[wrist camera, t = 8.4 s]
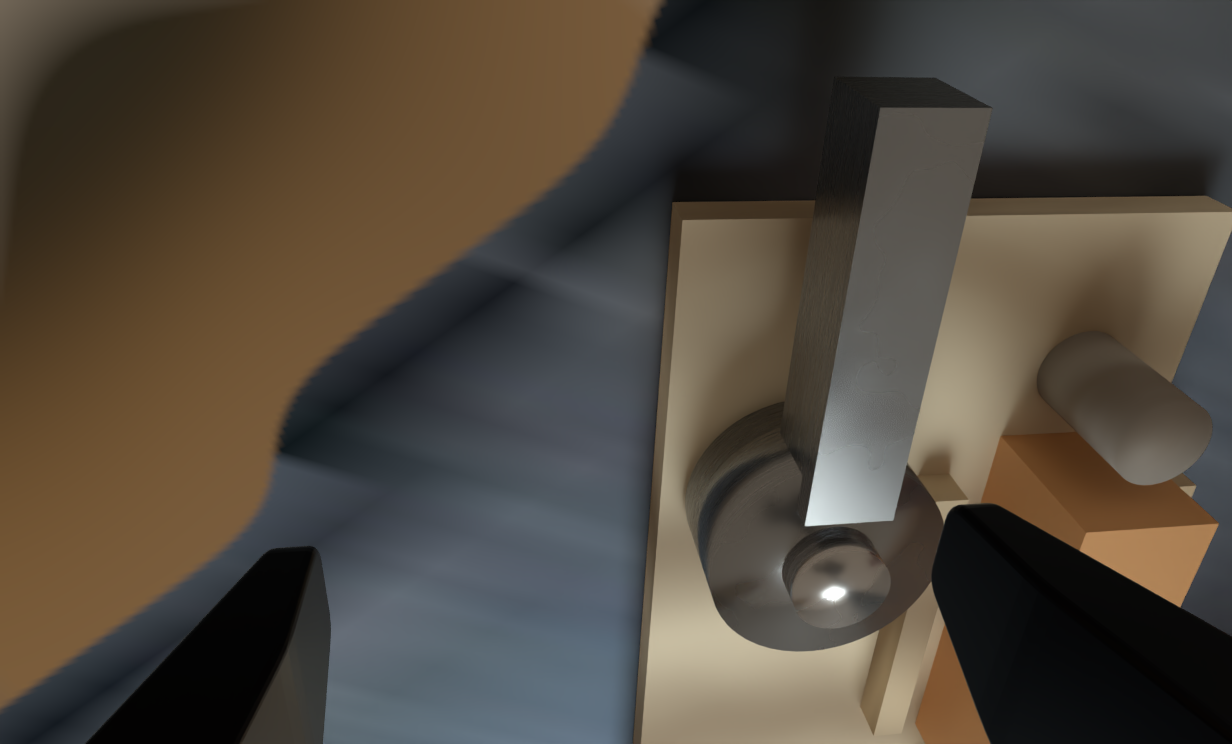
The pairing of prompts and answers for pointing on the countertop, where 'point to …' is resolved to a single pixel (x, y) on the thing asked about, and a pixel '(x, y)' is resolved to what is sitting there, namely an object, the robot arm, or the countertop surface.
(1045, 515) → the orange rectangular bar
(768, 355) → the tool board
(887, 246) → the crank handle
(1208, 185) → the countertop surface
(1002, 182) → the countertop surface
